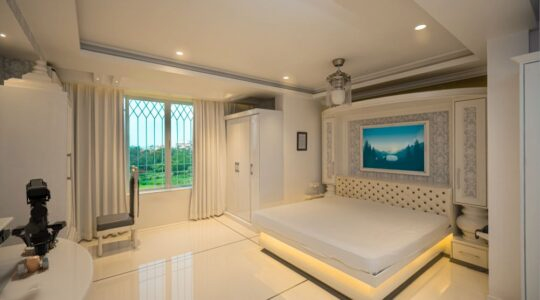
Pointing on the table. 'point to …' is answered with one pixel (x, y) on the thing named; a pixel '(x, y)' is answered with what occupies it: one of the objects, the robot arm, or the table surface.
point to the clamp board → (33, 272)
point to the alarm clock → (31, 250)
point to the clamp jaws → (44, 263)
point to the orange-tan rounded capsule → (33, 264)
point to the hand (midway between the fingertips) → (41, 245)
